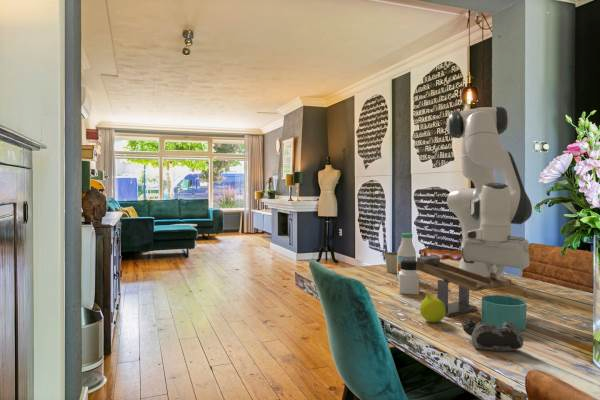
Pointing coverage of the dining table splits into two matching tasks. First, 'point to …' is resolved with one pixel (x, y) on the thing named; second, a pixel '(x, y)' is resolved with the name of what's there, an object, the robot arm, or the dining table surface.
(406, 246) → the milk bottle
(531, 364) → the dining table surface
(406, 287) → the medicine bottle
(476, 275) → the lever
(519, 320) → the cup
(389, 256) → the flower pot
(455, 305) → the lever stand
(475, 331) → the bison figurine
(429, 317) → the ornament
